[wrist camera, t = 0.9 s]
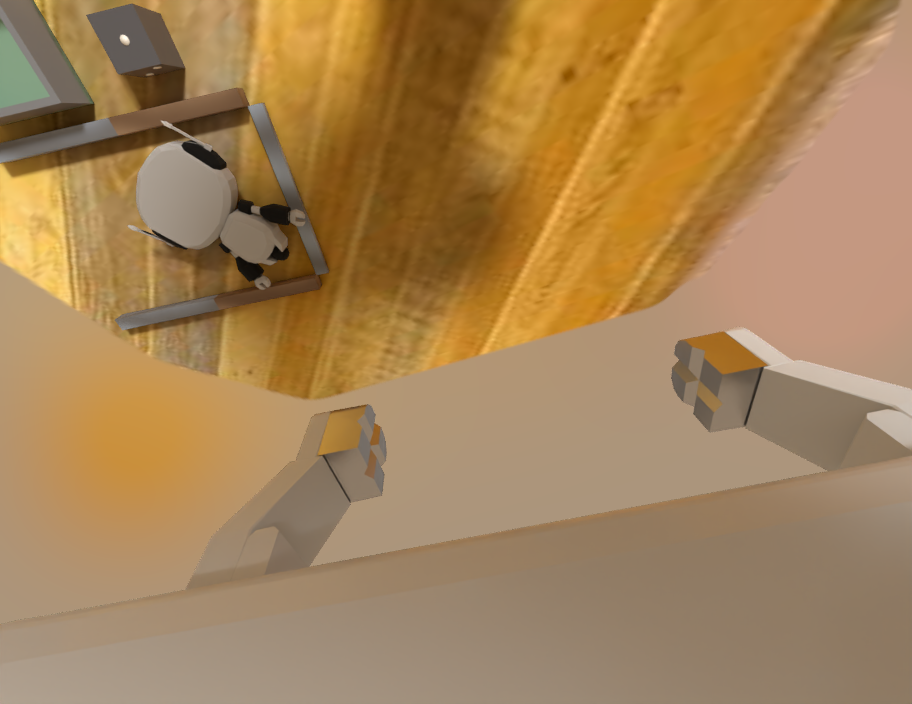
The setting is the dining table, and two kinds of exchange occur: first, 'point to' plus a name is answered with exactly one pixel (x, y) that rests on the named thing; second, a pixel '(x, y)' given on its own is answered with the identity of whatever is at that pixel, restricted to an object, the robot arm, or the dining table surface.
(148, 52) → the die
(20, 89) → the tray
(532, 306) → the dining table surface
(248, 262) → the robot toy
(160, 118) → the track
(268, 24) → the dining table surface
